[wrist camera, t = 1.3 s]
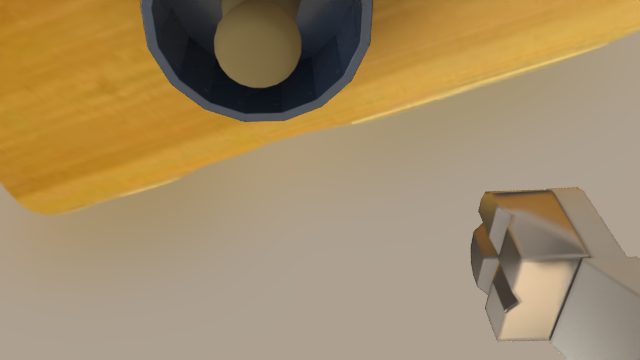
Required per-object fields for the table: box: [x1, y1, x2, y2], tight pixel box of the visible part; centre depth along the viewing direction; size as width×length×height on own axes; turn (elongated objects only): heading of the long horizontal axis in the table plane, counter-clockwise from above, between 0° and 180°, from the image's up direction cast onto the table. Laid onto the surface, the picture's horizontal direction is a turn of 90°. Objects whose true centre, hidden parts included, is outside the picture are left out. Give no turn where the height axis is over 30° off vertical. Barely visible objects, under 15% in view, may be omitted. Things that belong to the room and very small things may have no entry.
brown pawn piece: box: [214, 0, 301, 88], centre depth 40 cm, size 6×6×11 cm
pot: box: [140, 0, 373, 122], centre depth 41 cm, size 14×14×7 cm
